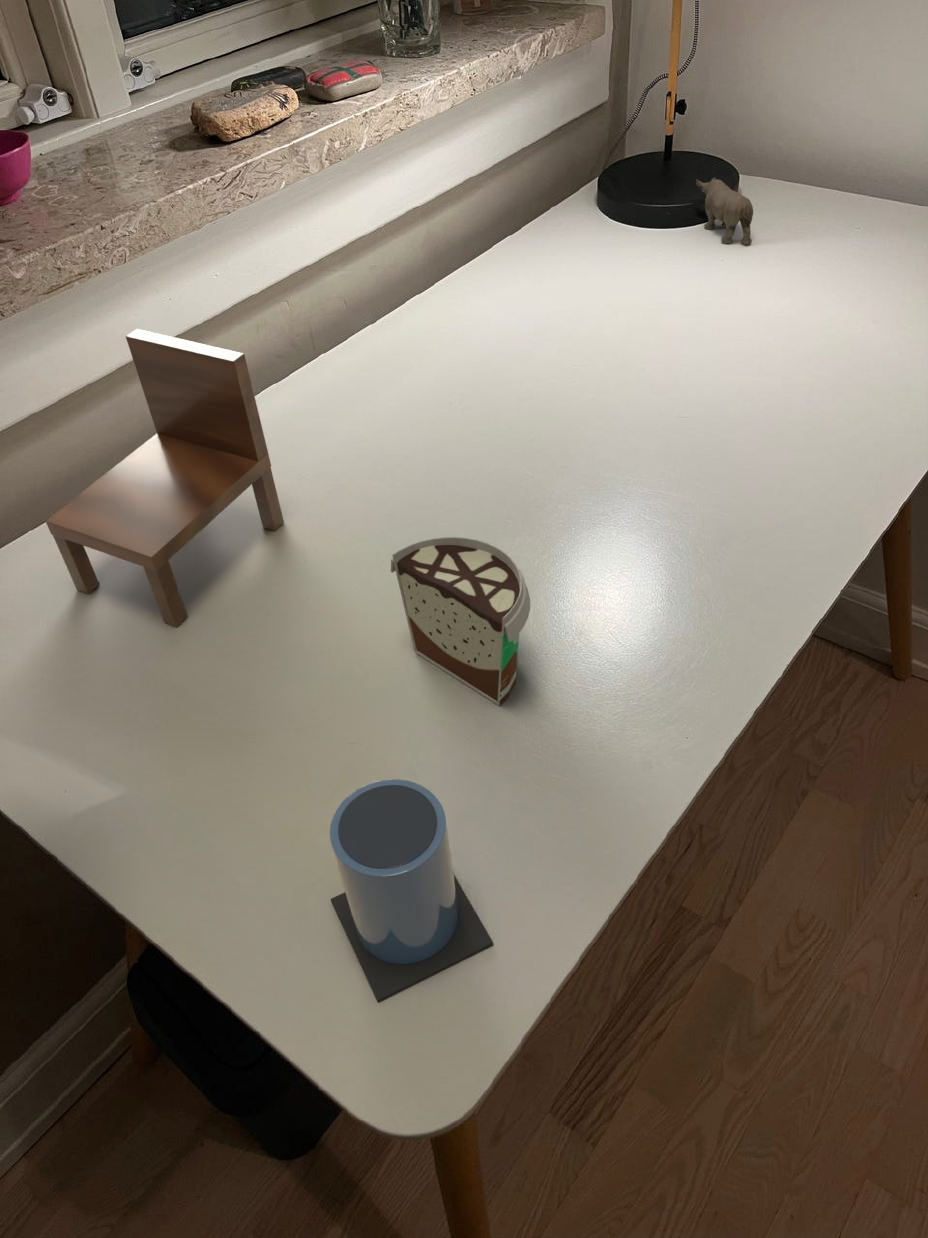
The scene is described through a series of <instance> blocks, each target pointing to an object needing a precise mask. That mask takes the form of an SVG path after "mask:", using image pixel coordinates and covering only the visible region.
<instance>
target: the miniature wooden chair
mask: <svg viewBox="0 0 928 1238" xmlns="http://www.w3.org/2000/svg"><path fill="white" fill-rule="evenodd" d="M125 340H126V342H127V346H128V348H129V352H130V355H131V358H132V361H133V364H134V367H135V370H136V373H137V376H138V379H139V382H140V385H141V388H142V391H143V394H144V398H145V400H146V401H145V402H146V404H147V408H148V410H149V414H150V416H151V419H152V422H153V426H154V429H155V431H156V433H155V434H154V435H153V436H151V437H150V438H149V439H148V440H146V441H145V442H144V443H143V444H141V445H140V446H139V447H137V448H136V449H135V450H133V451H132V452H131V453H129V454H128V455H127V456H126V457H124V458H123V459H121V461H119V463H117V464H116V465H115V466H113V467H112V468H111V469H110V470H108V471H107V472H105V473H104V474H103V475H102V476H100V477H99V478H98V479H97V480H95V481H94V482H93V483H92V484H90V485H89V486H88V487H87V488H85V489H84V490H83V491H81V492H80V493H79V494H78V495H76V496H75V497H74V498H73V499H71V500H70V501H69V502H67V503H66V504H65V505H64V506H63V507H62V508H60V509H59V510H57V511H56V512H55V513H53V514H52V515H51V516H50V517H49V518H47V519H46V520H45V524H46V526H47V528H48V530H49V533H50V535H52V537H53V539H54V541H55V544H56V546H57V548H58V551H59V553H60V556H61V558H62V560H63V562H64V564H65V566H66V569H67V571H68V573H69V575H70V578H71V580H72V582H73V585H74V586H75V589H76V590H77V591H78V592H81V593H83V594H86V595H90V594H91V593H92V592H93V591H94V590H95V589H97V588H98V587H99V586H100V582H99V579H98V577H97V575H96V572H95V570H94V567H93V565H92V563H91V560H90V558H89V555H88V553H87V551H86V548H89V549H92V550H95V551H98V552H100V553H103V554H105V555H106V554H107V555H109V556H112V557H115V558H118V559H120V560H123V561H127V562H130V563H132V564H135V565H138V566H141V567H143V571H144V573H145V575H146V578H147V580H148V583H149V585H150V589H151V591H152V594H153V596H154V599H155V602H156V604H157V608H158V610H159V612H160V615H161V618H162V621H163V623H164V624H166V625H169V626H172V627H175V628H178V627H179V626H180V625H182V624H183V622H185V621H186V619H188V617H189V616H188V612H187V610H186V606H185V603H184V601H183V598H182V595H181V593H180V590H179V587H178V584H177V581H176V578H175V576H174V573H173V570H172V568H171V564H170V562H169V561H170V560H171V559H172V558H173V557H174V556H175V555H176V554H177V553H178V552H179V551H180V550H181V549H182V548H184V547H185V546H186V545H187V544H188V543H189V542H190V541H192V539H194V538H195V537H196V536H197V535H198V534H199V533H201V532H202V530H203V529H205V528H206V527H207V526H208V525H209V524H210V523H211V522H213V520H214V519H216V518H217V517H218V516H219V515H220V514H221V513H223V511H224V510H225V509H226V508H227V507H228V506H229V505H231V504H232V503H233V502H234V501H235V500H236V499H237V498H238V497H239V496H241V495H242V494H243V493H244V492H245V491H246V490H247V489H248V488H249V487H252V491H253V494H254V495H253V496H254V499H255V502H256V506H257V510H258V515H259V517H260V522H261V525H262V527H263V528H264V529H268V530H271V531H274V532H277V530H278V529H279V528H281V526H282V525H283V524H284V523H285V521H284V517H283V513H282V507H281V504H280V500H279V495H278V491H277V486H276V482H275V479H274V475H273V471H272V463H271V458H270V455H269V454H270V453H269V451H268V446H267V442H266V438H265V433H264V429H263V425H262V421H261V417H260V412H259V409H258V404H257V401H256V400H257V399H256V397H255V393H254V388H253V384H252V379H251V375H250V372H249V368H248V363H247V360H246V355H245V353H244V352H240V351H236V350H231V349H227V348H222V347H218V346H213V345H209V344H205V343H200V342H197V341H191V340H187V339H183V338H178V337H175V336H170V335H166V334H162V333H158V332H153V331H150V330H149V331H148V330H144V329H140V328H135V329H134V330H133V331H131V332H129V333H128V334H127V335H125ZM85 547H86V548H85Z"/></svg>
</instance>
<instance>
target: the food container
mask: <svg viewBox="0 0 928 1238" xmlns="http://www.w3.org/2000/svg"><path fill="white" fill-rule="evenodd" d="M394 572H395V574H396V579H397V583H398V587H399V591H400V595H401V600H402V605H403V608H404V613H405V617H406V622H407V625H408V630H409V634H410V638H411V642H412V647H413V651H414V653H415V654H417V655H418V656H419V657H421V658H423V659H424V660H426V661H427V662H429V663H431V664H432V665H434V666H435V667H436V668H438V669H440V670H442V671H443V672H445V673H446V674H447V675H450V676H451V677H452V678H454V679H456V680H457V681H459V682H460V683H462V684H464V685H465V686H467V687H468V688H470V689H471V690H473V691H474V692H476V693H478V694H479V695H481V696H482V697H484V698H485V699H487V700H488V701H489V702H492V703H493V704H495V705H496V706H497V707H501V706H502V705H503V704H504V703H505V702H506V701H507V700H508V698H509V697H510V695H511V693H512V691H513V689H514V688H515V685H516V679H517V678H516V677H517V665H518V655H519V643H520V642H519V641H520V633H521V631H523V629H524V628H525V625H526V623H527V621H528V619H529V615H530V612H531V597H530V592H529V589H528V586H527V583H526V579H525V577H524V575H523V573H522V571H521V569H520V568H519V567H518V565H517V563H516V562H515V561H514V560H513V558H511V556H509V555H508V554H507V553H506V552H505V551H503V550H502V549H500V548H498V547H497V546H496V545H493V544H491V543H489V542H486V541H483V540H479V539H475V538H469V537H461V536H443V537H435V538H429V539H424V540H420V541H418V542H415V543H412V544H409V545H406V546H405V547H403V548H401V549H399V550H398V551H396V552H394V553H393V554H392V558H391V559H390V573H391V574H392V573H394Z"/></svg>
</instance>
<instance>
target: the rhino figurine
mask: <svg viewBox="0 0 928 1238" xmlns="http://www.w3.org/2000/svg"><path fill="white" fill-rule="evenodd" d="M695 184H696V186H697V187H699V188H700V189H701V190H702V192H704V193H705V194H706V198H705V206H704V207H705V209H704V210H705V214H706V216H707V219H708V220H707V221H708V222H706V223H705V224H704V226H703V228H704V229H706V230H714V229H715V227H716V223H715V222H716V221H715V220H718V221H719V222H722V223H721V225H720V226H721V227H722V228H726V230H725V234H724V235H723V236H722V237H721V238H720V243H722V244H727V245H728V244H732V242H733V236H734V235H735V232H736V229H737V228H736V227H737V225H738V224H739V223H740V226H741V229H742V234H743V235H742V238H741V239H740V241H739V242H740V244H741V245H744V246H749V245H751V244H752V239H751V224H752V221H753V216H754V207H753V205H752V202H751V200H750V198H748V197H747V196H745V195H743V194H741V193H739V192H737V191H736V190H733V189H731V187H729V186H728V184H726V183H725V182H724V181H722V180H721V179H717V178H716V177H712V178H711V179H710V181H708V182H702V181H700V180H699V179H698V178H696V179H695Z"/></svg>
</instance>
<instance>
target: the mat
mask: <svg viewBox="0 0 928 1238" xmlns="http://www.w3.org/2000/svg"><path fill="white" fill-rule="evenodd" d="M454 881H455V888H456V895H457V902H458V912H459V914H458V922H457V926H456V929H455V932H454V933H453V935H452V937H451V939H450V940H449V941H448V943H447V944H446V945H445V946H444V947H443V948H442V949H441V950H440V951H439V952H437V953H436V954H434V955H433V956H431V957H429V958H427V959H425V960H422V961H419V962H415V963H410V964H395V963H389V962H386V961H383V960H380V959H378V958H376V957H375V956H373V955H372V954H370V953H369V952H368V951H367V950H366V949H365V948H364V947H363V946H362V944H361V943H360V941H359V939H358V937H357V934H356V931H355V927H354V924H353V920H352V917H351V913H350V909H349V906H348V902H347V899H346V895H345V891H344V892H342V893H340V894H338V895H336V896H334V897H331V898H330V902H331V904H332V907H333V909H334V911H335V912H336V916H337V917H338V920H339V922H340V923H341V926H342V928H343V930H344V932H345V934H346V937H347V939H348V941H349V943H350V946H351V947H352V949H353V951H354V952H353V953H354V954H355V956H356V958H357V961H358V963H359V965H360V967H361V969H362V971H363V973H364V975H365V977H366V980H367V982H368V984H369V987H370V989H371V990H372V992H373V995H374V998H375V999H376V1002H377V1003H380V1002H382V1001H384V1000H386V999H388V998H390V997H392V996H394V995H397V994H398V993H400V992H402V991H404V990H406V989H408V988H410V987H412V986H414V985H416V984H419V983H421V982H422V981H424V980H425V979H428V978H430V977H432V976H434V975H436V974H438V973H440V972H442V971H444V970H446V969H448V968H450V967H453V966H454V965H456V964H458V963H460V962H462V961H464V960H466V959H468V958H470V957H472V956H474V955H476V954H478V953H480V952H482V951H484V950H486V949H488V948H491V947H492V946H494V941H493V940H492V938H491V936H490V934H489V933H488V931H487V929H486V928H485V926H484V924H483V922H482V921H481V919H480V916H479V915H478V914H477V912H476V910H475V908H474V907H473V905H472V903H471V901H470V900H469V898H468V897H467V895H466V893H465V891H464V889H463V888H462V885H461V884H460V882H459V881H458V879H457V877H456V875H455V874H454Z"/></svg>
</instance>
